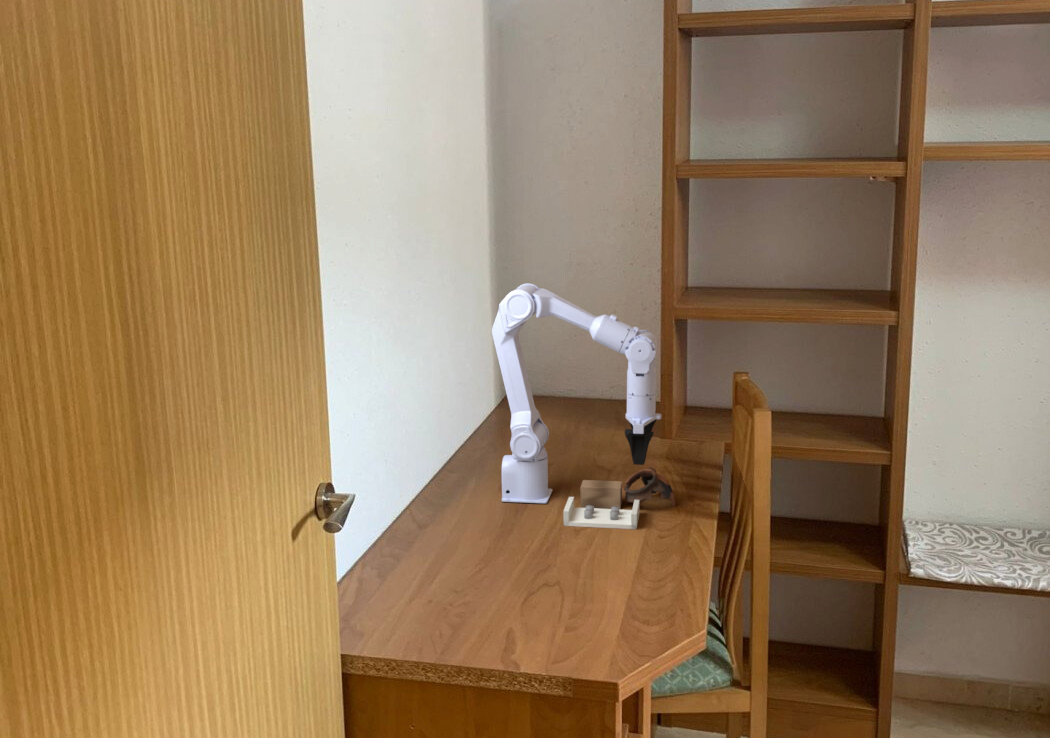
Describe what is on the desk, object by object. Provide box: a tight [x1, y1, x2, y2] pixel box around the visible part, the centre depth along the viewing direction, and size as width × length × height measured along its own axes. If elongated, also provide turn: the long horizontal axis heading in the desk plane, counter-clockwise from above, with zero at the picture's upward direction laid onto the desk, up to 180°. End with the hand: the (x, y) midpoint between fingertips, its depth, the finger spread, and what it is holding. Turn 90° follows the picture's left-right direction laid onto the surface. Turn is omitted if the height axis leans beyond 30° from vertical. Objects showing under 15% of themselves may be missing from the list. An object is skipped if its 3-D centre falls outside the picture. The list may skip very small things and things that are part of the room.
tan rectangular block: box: [579, 479, 623, 510], centre depth 210 cm, size 8×4×4 cm, turn 80°
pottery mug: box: [623, 466, 676, 508], centre depth 211 cm, size 12×10×8 cm
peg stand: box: [562, 496, 640, 530], centre depth 202 cm, size 14×8×3 cm, turn 80°
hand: (640, 458), depth 208 cm, fingers open, 7 cm apart
